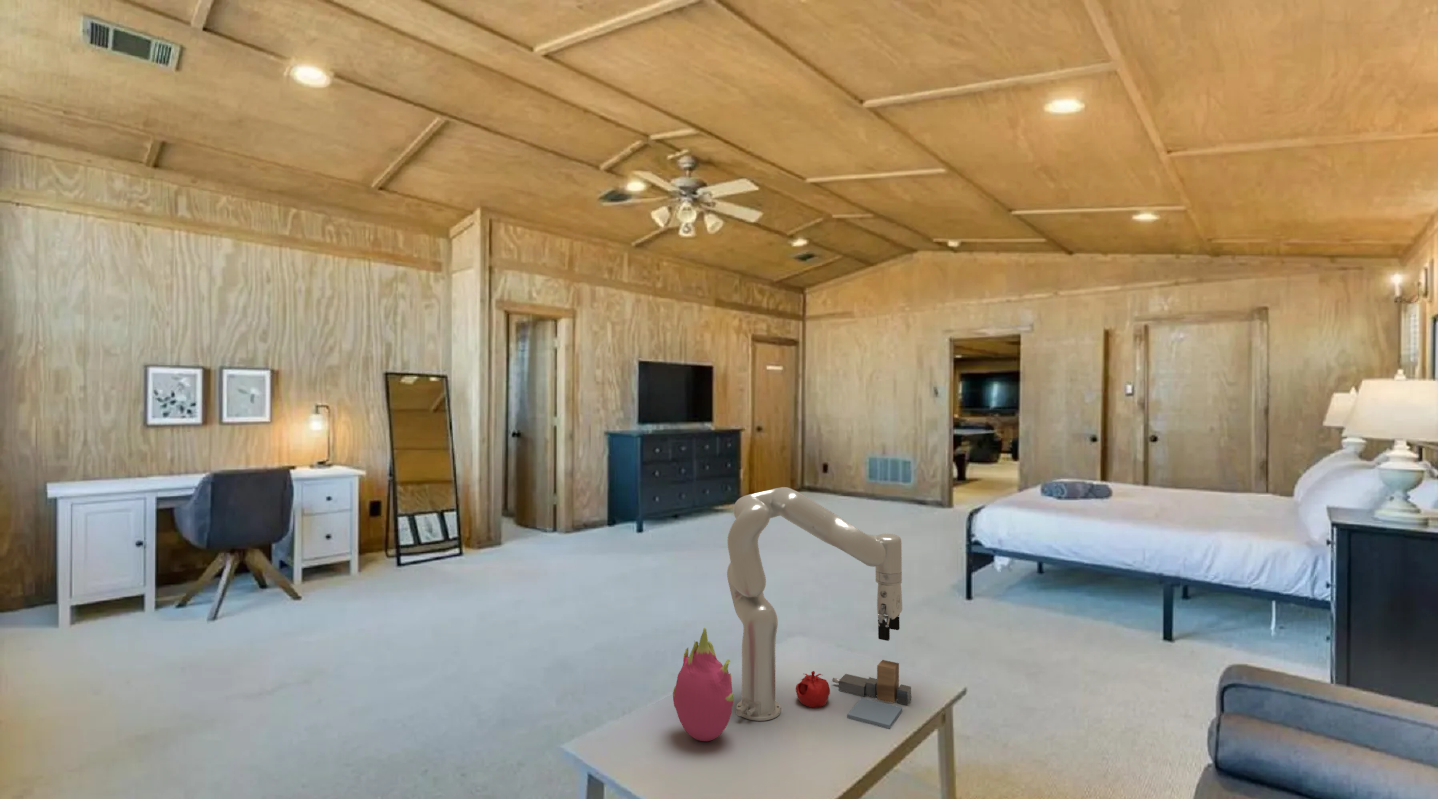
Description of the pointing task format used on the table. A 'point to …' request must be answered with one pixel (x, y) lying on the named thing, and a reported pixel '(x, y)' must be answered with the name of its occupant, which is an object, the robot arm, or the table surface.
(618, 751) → the table surface
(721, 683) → the pink dragon fruit
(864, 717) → the pad
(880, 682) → the walnut peg
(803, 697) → the pomegranate
